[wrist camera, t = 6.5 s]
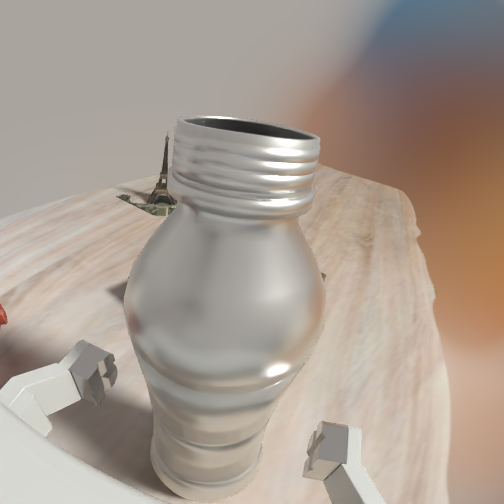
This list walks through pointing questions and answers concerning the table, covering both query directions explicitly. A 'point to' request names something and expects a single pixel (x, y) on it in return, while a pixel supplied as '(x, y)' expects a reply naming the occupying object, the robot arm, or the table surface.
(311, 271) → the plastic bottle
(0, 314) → the dish
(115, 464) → the table surface
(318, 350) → the table surface
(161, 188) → the eiffel tower figurine
